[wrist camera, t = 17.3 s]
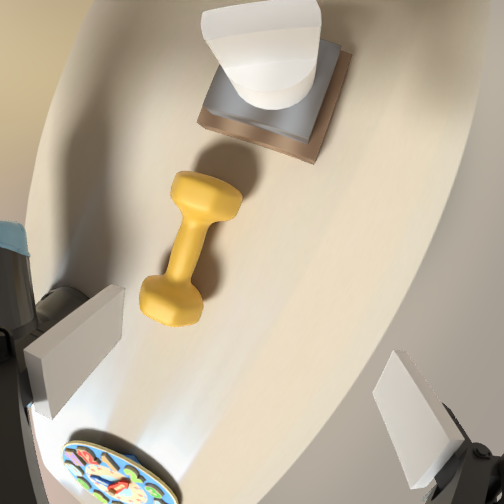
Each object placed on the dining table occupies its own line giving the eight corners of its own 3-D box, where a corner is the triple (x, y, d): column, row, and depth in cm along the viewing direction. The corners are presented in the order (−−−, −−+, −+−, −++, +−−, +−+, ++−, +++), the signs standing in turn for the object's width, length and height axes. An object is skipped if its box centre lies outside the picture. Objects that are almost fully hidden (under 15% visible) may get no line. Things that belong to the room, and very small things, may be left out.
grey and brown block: (205, 128, 40) (185, 114, 32) (243, 36, 37) (233, 7, 29) (313, 164, 39) (317, 156, 31) (347, 66, 36) (357, 40, 28)
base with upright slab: (308, 35, 29) (310, -28, 17) (320, 106, 30) (331, 60, 18) (228, 44, 30) (198, -14, 18) (235, 114, 31) (203, 74, 20)
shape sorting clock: (108, 505, 60) (100, 518, 54) (49, 428, 57) (36, 441, 51) (201, 517, 55) (195, 535, 49) (140, 434, 51) (128, 452, 45)
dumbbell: (190, 167, 41) (166, 161, 33) (252, 191, 41) (242, 189, 33) (149, 292, 45) (122, 310, 37) (204, 317, 44) (186, 341, 37)
